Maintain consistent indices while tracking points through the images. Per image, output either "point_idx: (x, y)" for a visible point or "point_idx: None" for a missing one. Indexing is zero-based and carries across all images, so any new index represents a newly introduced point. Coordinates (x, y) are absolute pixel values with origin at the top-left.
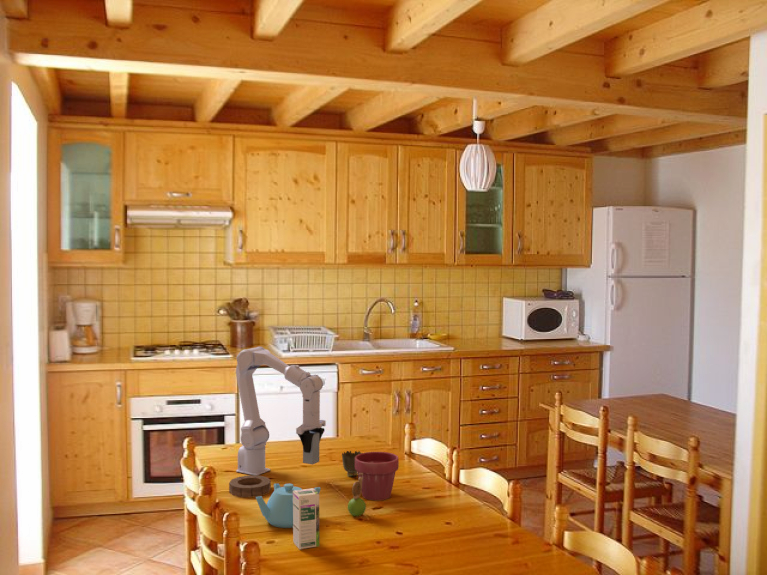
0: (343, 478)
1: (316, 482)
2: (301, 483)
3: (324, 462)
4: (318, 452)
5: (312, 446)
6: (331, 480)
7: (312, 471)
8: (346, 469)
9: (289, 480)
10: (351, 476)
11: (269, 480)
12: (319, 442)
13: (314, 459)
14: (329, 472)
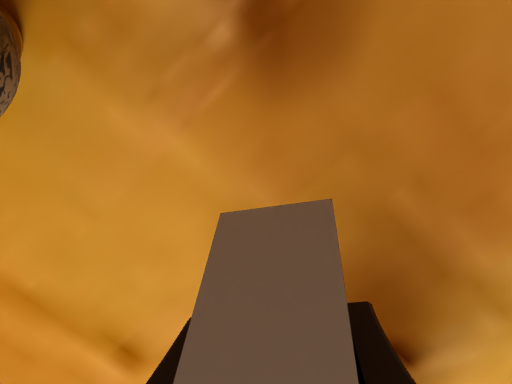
0: (80, 42)
1: (287, 123)
2: (369, 180)
3: (7, 326)
4: (221, 271)
5: (352, 342)
6: (179, 76)
7: (154, 278)
8: (17, 48)
9: (367, 265)
10: (9, 14)
11: None
12: (153, 378)
13: (300, 226)
14: (83, 202)
